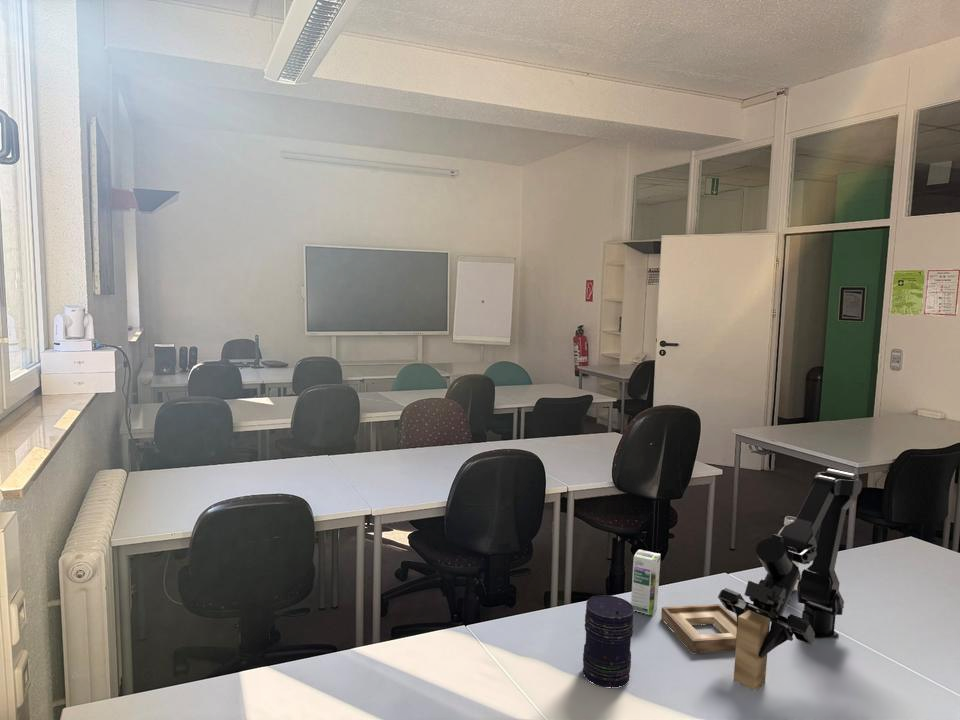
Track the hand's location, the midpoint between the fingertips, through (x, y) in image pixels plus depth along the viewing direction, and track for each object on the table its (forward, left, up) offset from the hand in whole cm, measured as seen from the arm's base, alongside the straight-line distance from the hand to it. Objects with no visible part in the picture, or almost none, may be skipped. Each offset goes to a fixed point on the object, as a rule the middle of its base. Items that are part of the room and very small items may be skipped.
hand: (748, 651), depth 132 cm
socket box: (-2, -20, -7) cm, 21 cm away
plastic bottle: (-37, -40, -7) cm, 55 cm away
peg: (-1, -1, -7) cm, 7 cm away
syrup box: (+8, -33, -7) cm, 34 cm away
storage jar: (+28, -7, -7) cm, 30 cm away
